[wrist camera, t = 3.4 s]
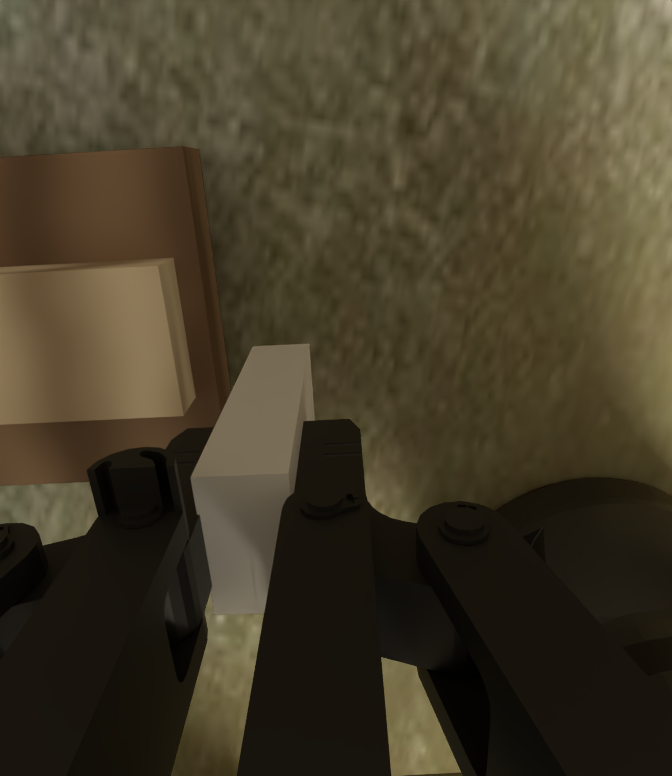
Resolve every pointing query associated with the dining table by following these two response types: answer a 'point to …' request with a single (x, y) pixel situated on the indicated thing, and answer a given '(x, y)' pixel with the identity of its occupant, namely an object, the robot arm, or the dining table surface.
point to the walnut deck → (113, 243)
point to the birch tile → (92, 342)
